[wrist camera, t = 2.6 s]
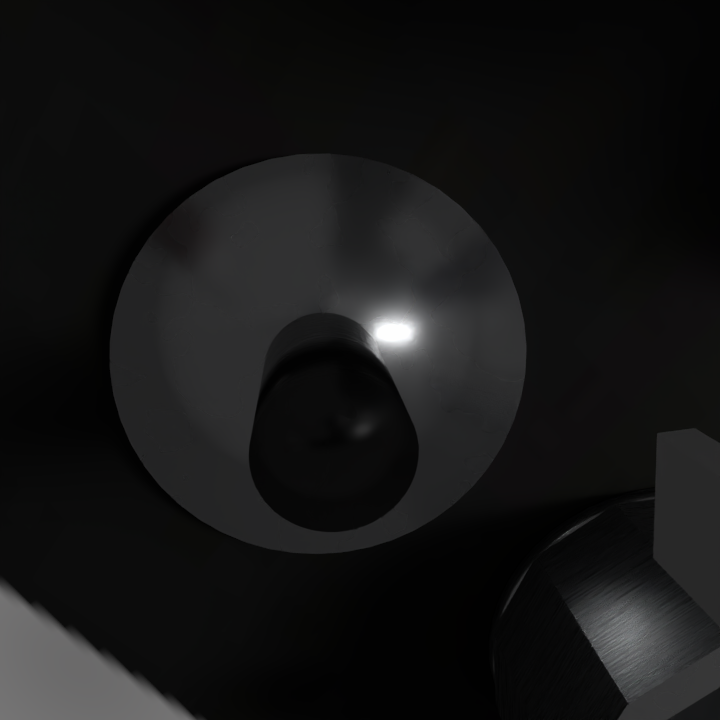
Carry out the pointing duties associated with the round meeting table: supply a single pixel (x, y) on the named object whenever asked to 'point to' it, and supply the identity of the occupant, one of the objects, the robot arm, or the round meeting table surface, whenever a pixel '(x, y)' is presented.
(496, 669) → the pot
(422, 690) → the round meeting table surface
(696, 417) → the round meeting table surface
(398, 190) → the lid
